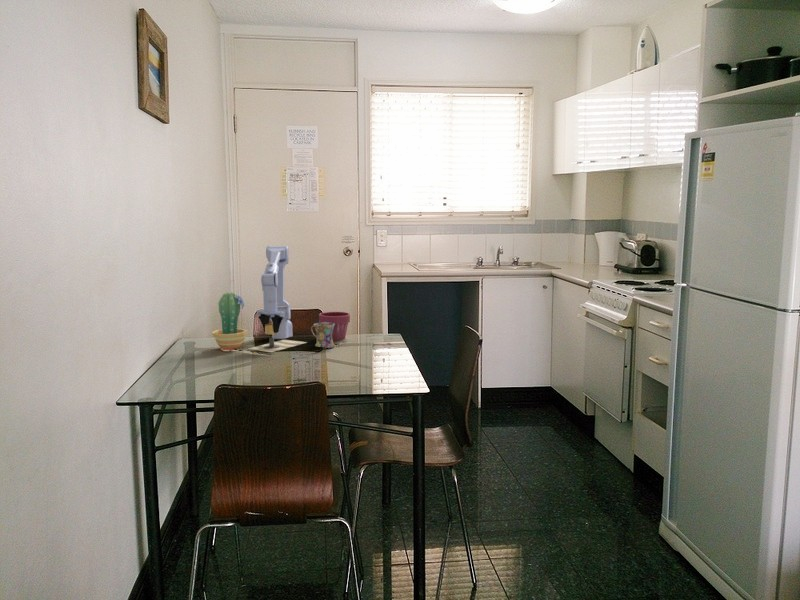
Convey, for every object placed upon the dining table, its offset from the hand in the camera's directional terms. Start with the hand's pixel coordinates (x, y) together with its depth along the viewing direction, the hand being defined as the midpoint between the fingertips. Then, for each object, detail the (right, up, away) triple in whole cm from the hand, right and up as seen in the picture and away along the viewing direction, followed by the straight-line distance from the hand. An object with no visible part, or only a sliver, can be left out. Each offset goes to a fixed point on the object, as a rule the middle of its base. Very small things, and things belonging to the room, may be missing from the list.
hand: (271, 332), depth 296 cm
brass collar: (0, -1, 0) cm, 1 cm away
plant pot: (+26, -5, +20) cm, 33 cm away
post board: (+2, -7, +4) cm, 9 cm away
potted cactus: (-19, -8, +3) cm, 20 cm away
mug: (+22, -7, +5) cm, 23 cm away
